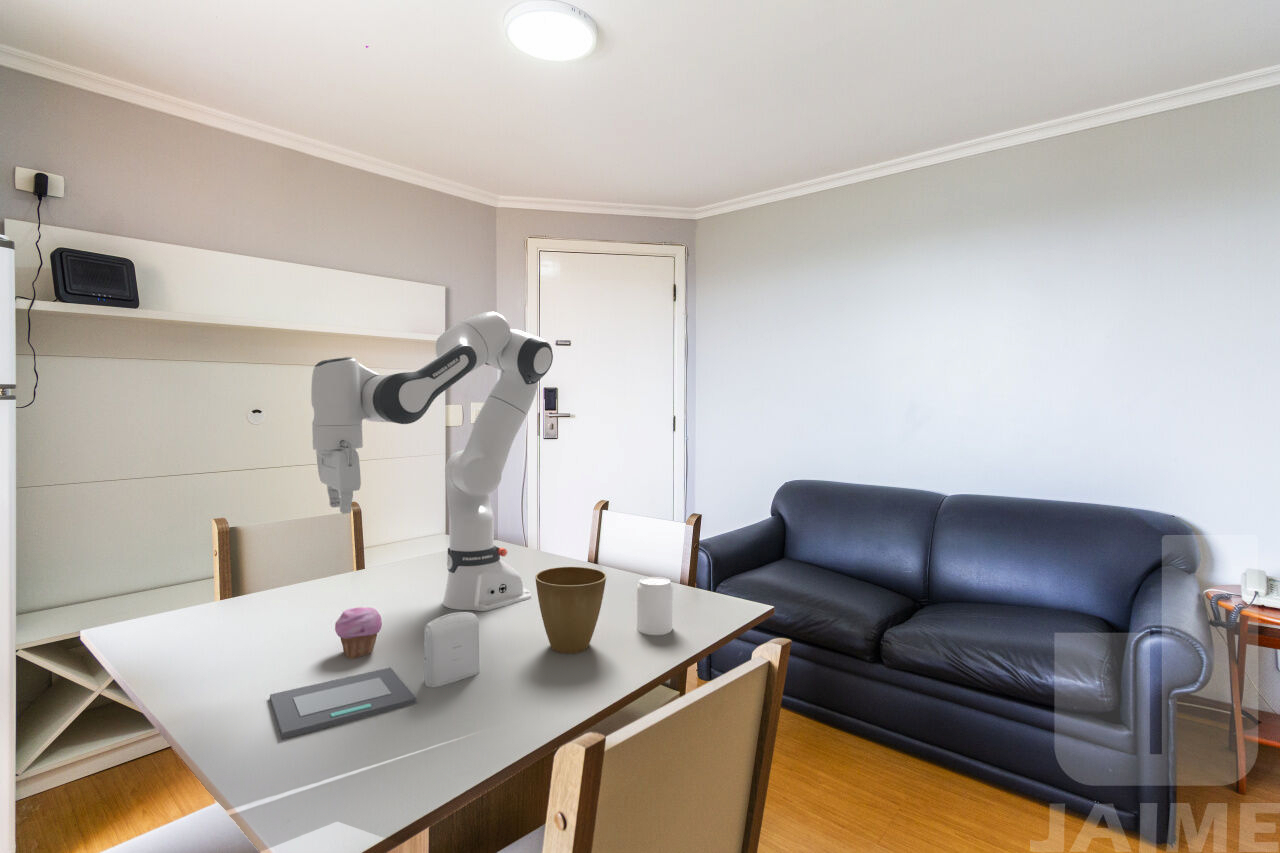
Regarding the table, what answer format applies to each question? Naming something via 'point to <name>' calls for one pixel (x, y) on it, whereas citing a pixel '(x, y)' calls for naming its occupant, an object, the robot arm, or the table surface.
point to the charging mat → (339, 701)
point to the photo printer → (451, 648)
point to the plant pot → (570, 605)
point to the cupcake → (358, 630)
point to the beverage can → (654, 606)
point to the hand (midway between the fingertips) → (340, 509)
